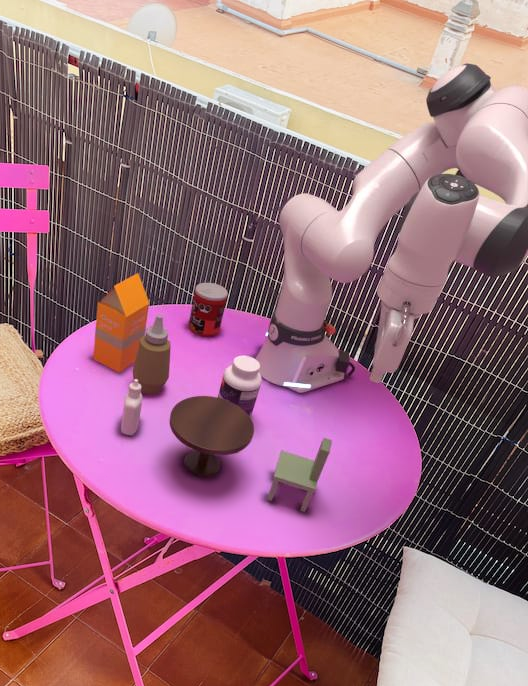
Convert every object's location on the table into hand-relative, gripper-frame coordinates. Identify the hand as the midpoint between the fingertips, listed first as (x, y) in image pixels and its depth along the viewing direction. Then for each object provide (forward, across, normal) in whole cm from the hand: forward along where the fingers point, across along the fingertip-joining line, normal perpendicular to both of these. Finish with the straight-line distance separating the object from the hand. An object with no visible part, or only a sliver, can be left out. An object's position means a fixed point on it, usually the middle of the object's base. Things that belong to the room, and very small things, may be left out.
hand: (376, 364), depth 113 cm
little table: (+31, -2, +24) cm, 39 cm away
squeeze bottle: (+31, +17, +42) cm, 55 cm away
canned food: (+31, +47, +37) cm, 68 cm away
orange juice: (+31, +24, +52) cm, 65 cm away
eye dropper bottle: (+31, +2, +41) cm, 52 cm away
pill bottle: (+31, +15, +22) cm, 41 cm away
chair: (+31, -2, +6) cm, 32 cm away
